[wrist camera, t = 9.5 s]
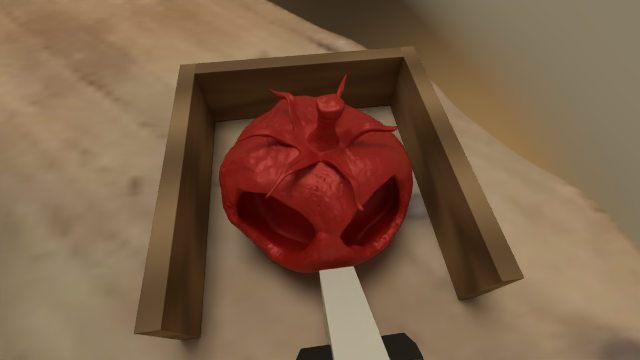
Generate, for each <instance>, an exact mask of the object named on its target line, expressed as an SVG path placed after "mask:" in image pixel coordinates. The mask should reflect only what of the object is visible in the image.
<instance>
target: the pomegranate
mask: <svg viewBox="0 0 640 360" xmlns="http://www.w3.org/2000/svg"><path fill="white" fill-rule="evenodd" d="M346 76H347V74H346V75H345V77H344V78H343V80H342V82H341V84H340V86H339V88H338V91H337V94H329V95H324V96H319V97H310V96H305V95H303V96H293V95H292V94H290V93H287V92H275V91H273V90H272V89H270V90H271V91H272V92H273V93H274V94H275V95H277V96H278V97H280V98H282V100H280V101H279V102H278V103H277V104H276V105H275V106H274V107H273V108H272V109H271V110H270V111H269V112H267V113H265V114H263V115H262V116H260V117H258V118H256V119H255V120H254V121H253V122H252V123H251V124H250V125H248V126H247V127H246V128H245V129H244V130H243V132H242V133H241V135H240V136H239V138H238V139H237V142H236V143H235V145H234V146H233V147H232V148H231V149H230V151H229V152H228V153H227V154H226V156H225V159H224V161H223V163H222V164H221V167H220V171H219V181H220V187H221V193H222V203H223V208H224V210H225V212H226V214H227V217H228V219H229V221H230V222H231V223H232V224H233V225H234V226H236V227H237V228H238V229H239V230H240V231H241V232H242V233H244V234H245V235H246V236H247V237H248V238H249V239H251V240H252V241H253V243H254V244H255V245H256V246H257V247H258V248H260V249H261V250H262V251H263V252H264V253H265V254H266V255H267V256H268V257H269V258H270V259H272V260H273V261H274V262H276V263H278V264H279V265H281V266H283V267H286V268H288V269H290V270H292V271H297V272H300V273H313V272H318V273H319V271H320V270H328V269H336V268H344V267H351V266H353V267H354V266H356V265H358V264H360V263H362V262H365V261H367V260H369V259H371V258H372V257H374V256H375V255H377V254H378V253H380V252H381V251H382V250H383V249H385V248H386V247H387V246H388V245H389V244H390V243H391V240H392V239H393V237H394V235H395V233H396V232H397V231H398V229H399V228H400V227H401V224H402V222H403V220H404V218H405V215H406V212H407V209H408V206H409V202H410V197H411V194H412V187H413V176H412V166H411V161H410V160H409V157H408V155H407V152H406V151H405V148H404V146H403V145H402V143H401V142H400V141H399V140H398V139H397V137H396V136H395V135H394V134H393V133H392V132H393V131H395V130H397V129H398V126H384V125H383V124H382V123H381V122H379V121H377V120H375V119H374V118H372V117H371V116H368V115H367V114H365V113H363V112H362V111H359V110H357V109H355V108H352V107H350V106H348V105H346V104H344V101H343V100H342V99H340V96H341V94H342V92H343V90H344V84H345V80H346Z"/></svg>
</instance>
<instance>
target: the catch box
mask: <svg viewBox="0 0 640 360" xmlns="http://www.w3.org/2000/svg"><path fill="white" fill-rule="evenodd" d="M346 74H347V76H346V80H345V84H344V90H343V92H342V94H341V96H340V99H342V100H343V101H344V104H346V105H348V106H350V107H352V108H363V107H374V106H384V105H390V106H391V109H392V112H393V115H394V118H395V121H396V123H397V126H398V129H399V132H400V135H401V138H402V140H403V143H404V146H405V149H406V152H407V155H408V157H409V160H410V161H411V166H412V169H413V172H414V174H415V177H416V180H417V183H418V186H419V189H420V191H421V194H422V197H423V200H424V203H425V206H426V208H427V211H428V214H429V217H430V220H431V223H432V225H433V228H434V231H435V234H436V237H437V240H438V242H439V245H440V248H441V251H442V254H443V257H444V259H445V262H446V265H447V268H448V271H449V274H450V276H451V279H452V282H453V285H454V288H455V291H456V293H457V296H458V299H466V298H473V297H477V296H480V295H482V294H485V293H488V292H490V291H493V290H495V289H498V288H500V287H503V286H505V285H508V284H511V283H513V282H516V281H518V280H521V279H523V278H524V276H523V274H522V272H521V270H520V268H519V266H518V264H517V262H516V259H515V257H514V255H513V253H512V251H511V249H510V247H509V245H508V243H507V241H506V239H505V237H504V234H503V232H502V230H501V228H500V226H499V224H498V222H497V220H496V218H495V216H494V214H493V211H492V209H491V207H490V205H489V203H488V201H487V199H486V197H485V195H484V193H483V191H482V188H481V186H480V184H479V182H478V180H477V178H476V176H475V174H474V172H473V170H472V168H471V165H470V163H469V161H468V159H467V157H466V155H465V153H464V151H463V149H462V147H461V145H460V142H459V140H458V138H457V136H456V134H455V132H454V130H453V128H452V126H451V124H450V122H449V119H448V117H447V115H446V113H445V111H444V109H443V107H442V105H441V103H440V101H439V99H438V96H437V94H436V92H435V90H434V88H433V86H432V84H431V82H430V80H429V78H428V76H427V73H426V71H425V69H424V67H423V65H422V63H421V61H420V59H419V57H418V55H417V53H416V50H415V49H414V47H400V48H387V49H374V50H362V51H349V52H336V53H324V54H311V55H298V56H286V57H273V58H261V59H248V60H235V61H223V62H210V63H198V64H185V65H180V69H179V75H178V81H177V87H176V92H175V98H174V104H173V110H172V116H171V121H170V127H169V133H168V139H167V144H166V150H165V156H164V162H163V168H162V173H161V179H160V185H159V191H158V197H157V202H156V208H155V214H154V220H153V225H152V231H151V237H150V243H149V249H148V254H147V260H146V266H145V272H144V277H143V283H142V289H141V295H140V301H139V306H138V312H137V318H136V324H135V329H134V334H140V335H147V336H155V337H162V338H169V339H177V340H184V339H191V338H198V337H200V333H201V318H202V304H203V289H204V275H205V260H206V246H207V231H208V217H209V202H210V188H211V173H212V159H213V144H214V130H215V121H224V120H235V119H245V118H256V117H260V116H262V115H263V114H265V113H267V112H269V111H270V110H271V109H272V108H273V107H274V106H275V105H276V104H277V103H278V102H279V101H280V100H282V98H280V97H278V96H277V95H275V94H274V93H273V92H272V91H271V90H270V89H272V90H273V91H275V92H287V93H290V94H292V95H293V96H303V95H305V96H310V97H319V96H324V95H329V94H337V91H338V88H339V86H340V84H341V82H342V80H343V78H344V77H345V75H346Z"/></svg>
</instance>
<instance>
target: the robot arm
mask: <svg viewBox="0 0 640 360" xmlns="http://www.w3.org/2000/svg"><path fill="white" fill-rule="evenodd" d="M319 273H320V283H321V293H322V304H323V314H324V324H325V331H326V337H327V344H328V345H323V346H316V347H310V348H303V349H301V350H300V352H299V354H298V357H297V359H296V360H424V359H423V356H422V354H421V352H420V350H419V348H418V347H417V345H416V343H415V342H414V341H413V340H411V339H410V338H409V337H408V336H407V335H406V334H405V333H398V334H391V335H385V336H380V333H379V331H378V328H377V326H376V323H375V320H374V318H373V315H372V313H371V310H370V308H369V305H368V303H367V300H366V297H365V295H364V292H363V290H362V287H361V285H360V282H359V279H358V277H357V274H356V272H355V269H354V267H353V266H351V267H344V268H336V269H328V270H320V271H319Z"/></svg>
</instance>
